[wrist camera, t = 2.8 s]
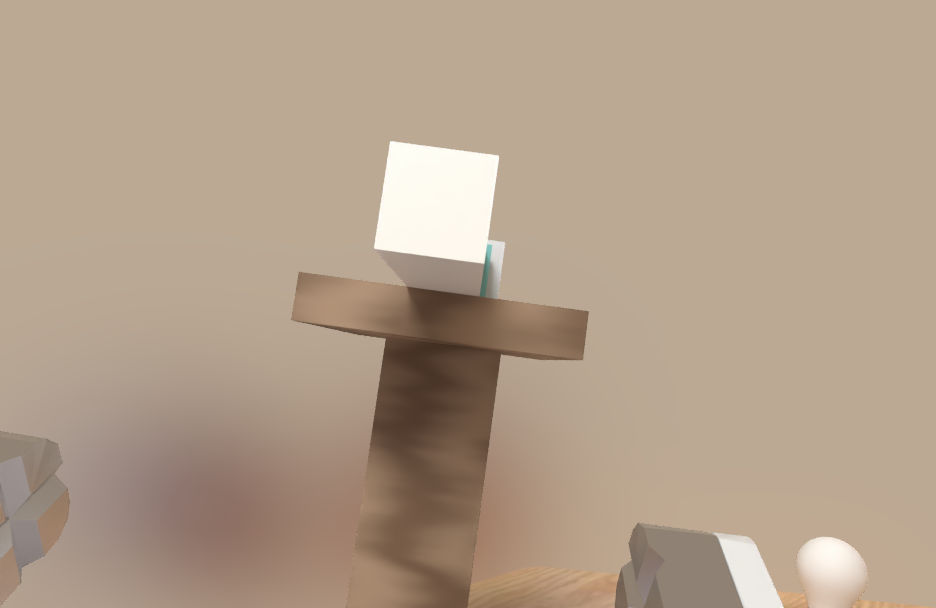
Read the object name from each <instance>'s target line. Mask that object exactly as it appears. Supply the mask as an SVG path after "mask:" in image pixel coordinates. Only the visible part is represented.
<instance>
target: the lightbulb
mask: <svg viewBox="0 0 936 608" xmlns="http://www.w3.org/2000/svg"><path fill="white" fill-rule="evenodd" d="M796 571H797V574H798V577H799V580H800V582H801V585H802V587H803V589H804V591H805V595H806V598H807V603H808V608H852V607H853V605H854V604H855V603H856V602H857V601H858V600H859V598H860V597H861V596H862V594H863V593H864V591H865V589H866V586H867V584H868V571H867V567H866V564H865V562H864V560H863V559H862V557H861V556H860V554H859V553H858V552H857V551H856V550H855V549H854V548H853V547H852V546H850V545H848V544H847V543H846V542H844V541H842V540H839V539H836V538H832V537H819V538H815V539H812V540H810V541H808V542H807V543H806V544H804V545H803V546H802V547H801V549H800V550H799V552H798V555H797V558H796Z"/></svg>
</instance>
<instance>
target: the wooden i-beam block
mask: <svg viewBox="0 0 936 608" xmlns="http://www.w3.org/2000/svg"><path fill="white" fill-rule="evenodd" d="M588 313H589V312H588V311H582V310H574V309H567V308H560V307H552V306H545V305H537V304H530V303H523V302H515V301H507V300H501V299H494V298H486V297H479V296H472V295H464V294H457V293H450V292H442V291H435V290H428V289H420V288H413V287H405V286H398V285H391V284H383V283H376V282H368V281H362V280H353V279H347V278H340V277H332V276H325V275H317V274H309V273H302V272H299V275H298V281H297V287H296V294H295V300H294V306H293V312H292V318H291V320H294V321H298V322H302V323H307V324H312V325H316V326H321V327H325V328H330V329H335V330H339V331H344V332H348V333H353V334H358V335H364V336H371V337H378V338H386V342H385V348H384V355H383V362H382V368H381V375H380V382H379V389H378V395H377V402H376V409H375V416H374V422H373V429H372V436H371V443H370V449H369V456H368V463H367V470H366V476H365V483H364V490H363V496H362V503H361V510H360V517H359V524H358V530H357V537H356V544H355V550H354V557H353V564H352V571H351V578H350V584H349V591H348V597H347V605H346V608H467V606H468V598H469V591H470V583H471V576H472V568H473V560H474V552H475V545H476V537H477V530H478V523H479V515H480V507H481V500H482V493H483V485H484V477H485V470H486V462H487V454H488V447H489V439H490V432H491V424H492V417H493V410H494V402H495V394H496V386H497V379H498V371H499V364H500V356H501V354H502V355H509V356H516V357H525V358H532V359H539V360H583V354H584V346H585V337H586V329H587V321H588Z"/></svg>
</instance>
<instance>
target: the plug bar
mask: <svg viewBox="0 0 936 608" xmlns="http://www.w3.org/2000/svg"><path fill="white" fill-rule="evenodd" d="M498 160H499V156H497V155H490V154H481V153H475V152H467V151H460V150H452V149H444V148H436V147H429V146H421V145H414V144H407V143H399V142H392V141H391V142H390V147H389V154H388V160H387V166H386V173H385V180H384V186H383V193H382V200H381V206H380V213H379V220H378V226H377V233H376V239H375V246H374V249H375V251H377V253H378V254H379V255H380V256H381V257H382V259H383V260H384V261H385V262H386V263H387V264H388V265H389V267H390V268H391V269H392V270H393V271H394V272H395V273H396V274H397V276H398V277H399V278H400V279H401V280H402V281H403V283H404V284H405V285H406V286H407V287H413V288H420V289H428V290H435V291H442V292H450V293H457V294H464V295H472V296H479V297H486V298H494V299H498V292H499V285H500V277H501V269H502V262H503V254H504V247H505V242H499V241H492V240H488V234H489V226H490V219H491V212H492V203H493V197H494V190H495V182H496V175H497V168H498Z"/></svg>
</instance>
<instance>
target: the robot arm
mask: <svg viewBox="0 0 936 608" xmlns="http://www.w3.org/2000/svg"><path fill="white" fill-rule="evenodd" d="M61 464H62V459H61V455H60V451H59V447H58V444H57V443H55V442H52V441H50V440H48V439H44V438H38V437H32V436H26V435H20V434H14V433H8V432H2V431H0V606H1V605H2V604H3V603H4V602H5V600H6V599H7V598H8V597H9V596H10V595H11V594H12V593H13V592H14V590H15V589H16V588H17V587H18V586H19V585H20V584H21V575H22V573H21V572H22V567H24V566H26V565H28V564H30V563H32V562H34V561H36V560H38V559H40V558H42V557H44V556H45V555H46V554H47V552H48V551H49V550H50V549H51V548H52V546H53V545H54V544H55V543H56V542H57V540H58V539H59V537H60V535H61V533H62V531H63V528H64V526H65V524H66V522H67V519H68V515H69V506H70V499H69V494H68V488H67V487H66V486H65V485H64V484H63V483H62V482H61V481H60V479H59V478H58V477H57V476H56V475H55V472H56V471H57V470H58V468H59V467H60V466H61ZM629 548H630V553H631V558H632V561H630V562H629V563H627V564H626V565H624V566H623V567H622V568H621V572H620V575H619V579H618V583H617V589H616V600H615V608H784V606H783V604H782V602H781V600H780V597H779V595H778V593H777V591H776V589H775V587H774V584H773V582H772V580H771V578H770V576H769V573H768V571H767V569H766V566H765V564H764V562H763V560H762V558H761V556H760V553H759V551H758V549H757V547H756V544H755V543H754V542H753V541H752V540H751V539H750V538H749V537H745V536H738V535H730V534H722V533H714V532H712V533H708V532H702V531H694V530H686V529H680V528H672V527H665V526H657V525H650V524H642V523H638V524H637V525H636V527H635V528H634V530H633V532H632V535H631V538H630V541H629Z"/></svg>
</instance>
